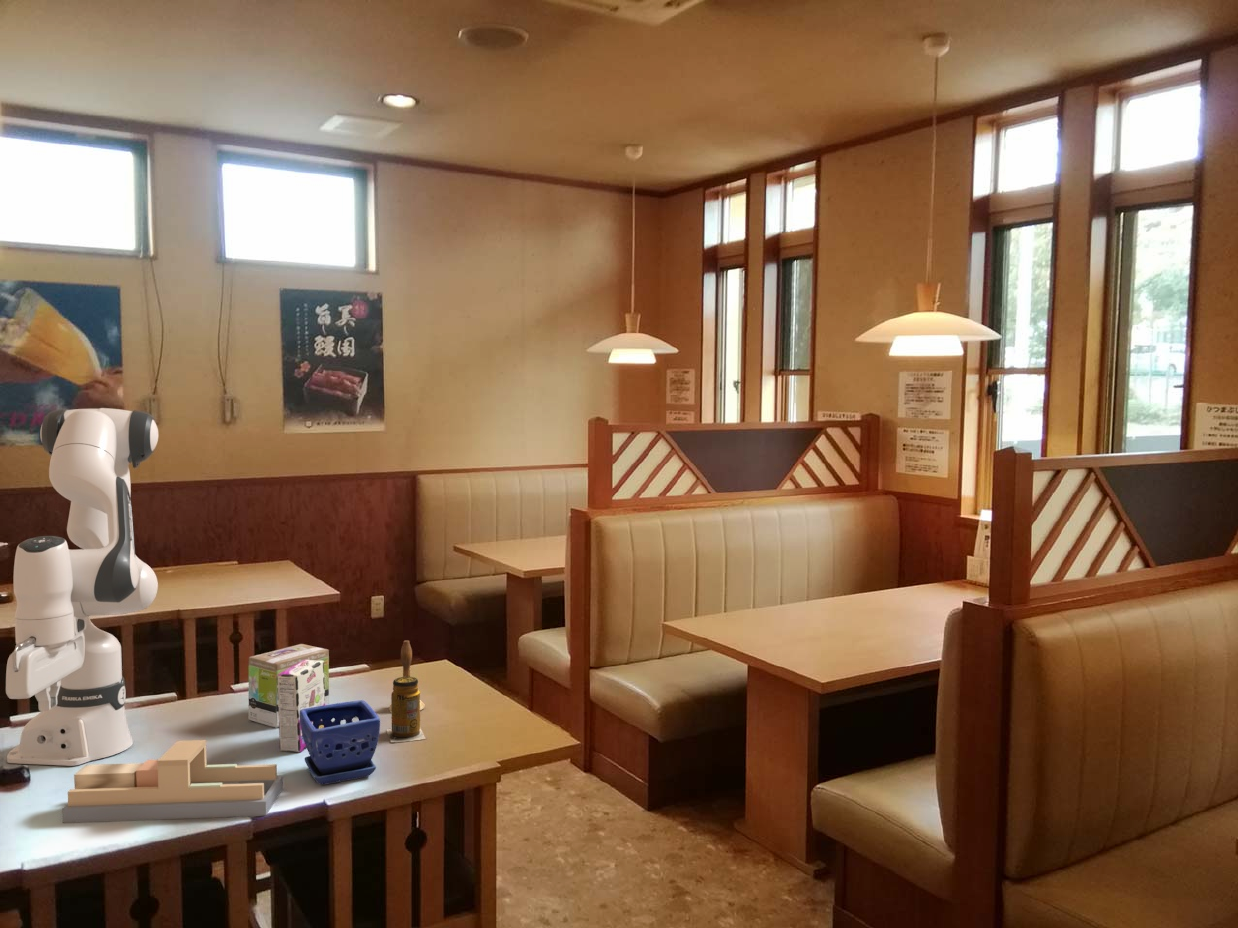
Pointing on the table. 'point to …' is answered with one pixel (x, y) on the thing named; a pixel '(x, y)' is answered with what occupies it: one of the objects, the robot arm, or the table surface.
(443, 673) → the table surface
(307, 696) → the candy bar box
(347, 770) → the flower pot
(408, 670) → the hand bell
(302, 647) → the tea box
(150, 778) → the terracotta cube
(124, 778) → the maple bar
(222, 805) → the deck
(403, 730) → the condiment
